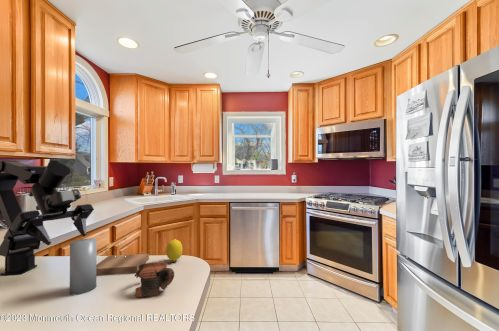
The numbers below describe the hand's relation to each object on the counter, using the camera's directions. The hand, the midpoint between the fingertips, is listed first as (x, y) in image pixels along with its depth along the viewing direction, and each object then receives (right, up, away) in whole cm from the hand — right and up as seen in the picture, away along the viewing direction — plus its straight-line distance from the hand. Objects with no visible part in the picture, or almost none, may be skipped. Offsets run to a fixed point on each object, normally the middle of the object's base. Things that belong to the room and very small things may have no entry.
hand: (68, 239), depth 67 cm
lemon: (+26, -13, +16) cm, 33 cm away
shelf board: (+9, -13, +12) cm, 20 cm away
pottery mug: (+27, -12, -4) cm, 30 cm away
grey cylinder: (+7, -13, -3) cm, 15 cm away
